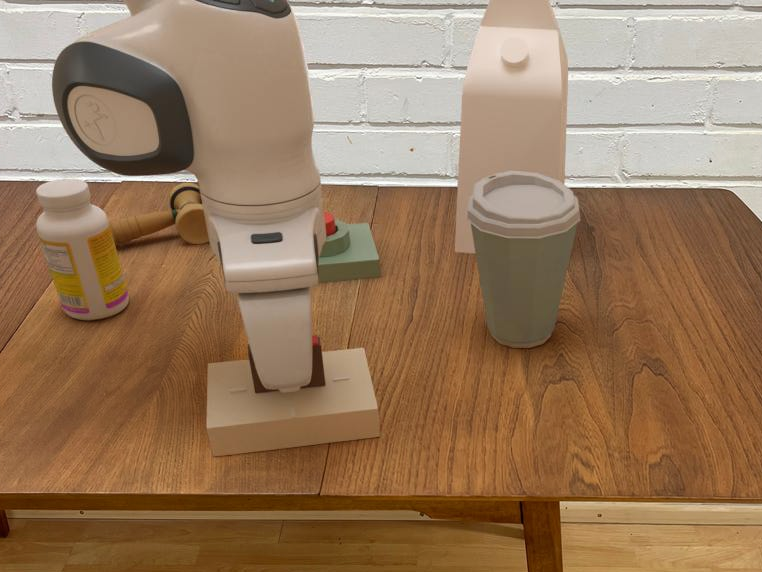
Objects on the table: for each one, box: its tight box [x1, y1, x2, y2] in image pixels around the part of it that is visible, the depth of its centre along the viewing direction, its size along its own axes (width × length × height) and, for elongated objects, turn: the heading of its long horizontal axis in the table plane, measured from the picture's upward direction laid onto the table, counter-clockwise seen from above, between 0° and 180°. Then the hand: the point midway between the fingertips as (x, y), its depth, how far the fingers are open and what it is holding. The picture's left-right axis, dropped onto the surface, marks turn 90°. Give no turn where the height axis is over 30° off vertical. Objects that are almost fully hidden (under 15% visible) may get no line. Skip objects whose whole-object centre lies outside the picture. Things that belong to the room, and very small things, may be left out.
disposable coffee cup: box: [466, 171, 581, 349], centre depth 85 cm, size 11×11×15 cm
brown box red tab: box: [247, 334, 326, 393], centre depth 76 cm, size 6×2×4 cm, turn 103°
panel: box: [205, 347, 381, 458], centre depth 78 cm, size 14×10×3 cm
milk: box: [454, 0, 569, 254], centre depth 100 cm, size 12×12×26 cm
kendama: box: [109, 182, 210, 247], centre depth 105 cm, size 8×6×18 cm
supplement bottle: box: [35, 178, 130, 321], centre depth 89 cm, size 7×7×13 cm
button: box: [324, 211, 336, 237], centre depth 99 cm, size 4×4×2 cm
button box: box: [318, 218, 381, 284], centre depth 101 cm, size 12×10×4 cm
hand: (288, 374), depth 76 cm, fingers open, 3 cm apart
